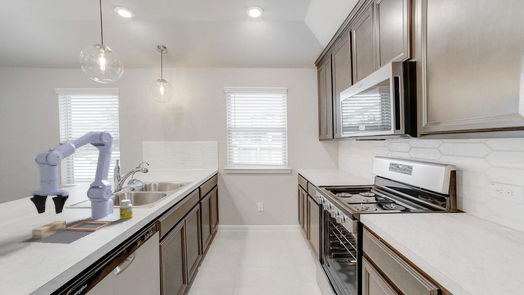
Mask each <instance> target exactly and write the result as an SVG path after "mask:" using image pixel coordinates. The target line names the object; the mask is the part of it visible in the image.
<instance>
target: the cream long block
mask: <svg viewBox="0 0 524 295" xmlns="http://www.w3.org/2000/svg"><path fill="white" fill-rule="evenodd" d="M66 225H67V221H66V220H56V221H53V222H50V223H47V224H44V225H42V226H39V227H35V228H34V229H32V230H31V238H38V239H43V238H45V237H48V236H50V235H53V234H55V233H58V232H60V231H63V230H65V229H66Z"/></svg>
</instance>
